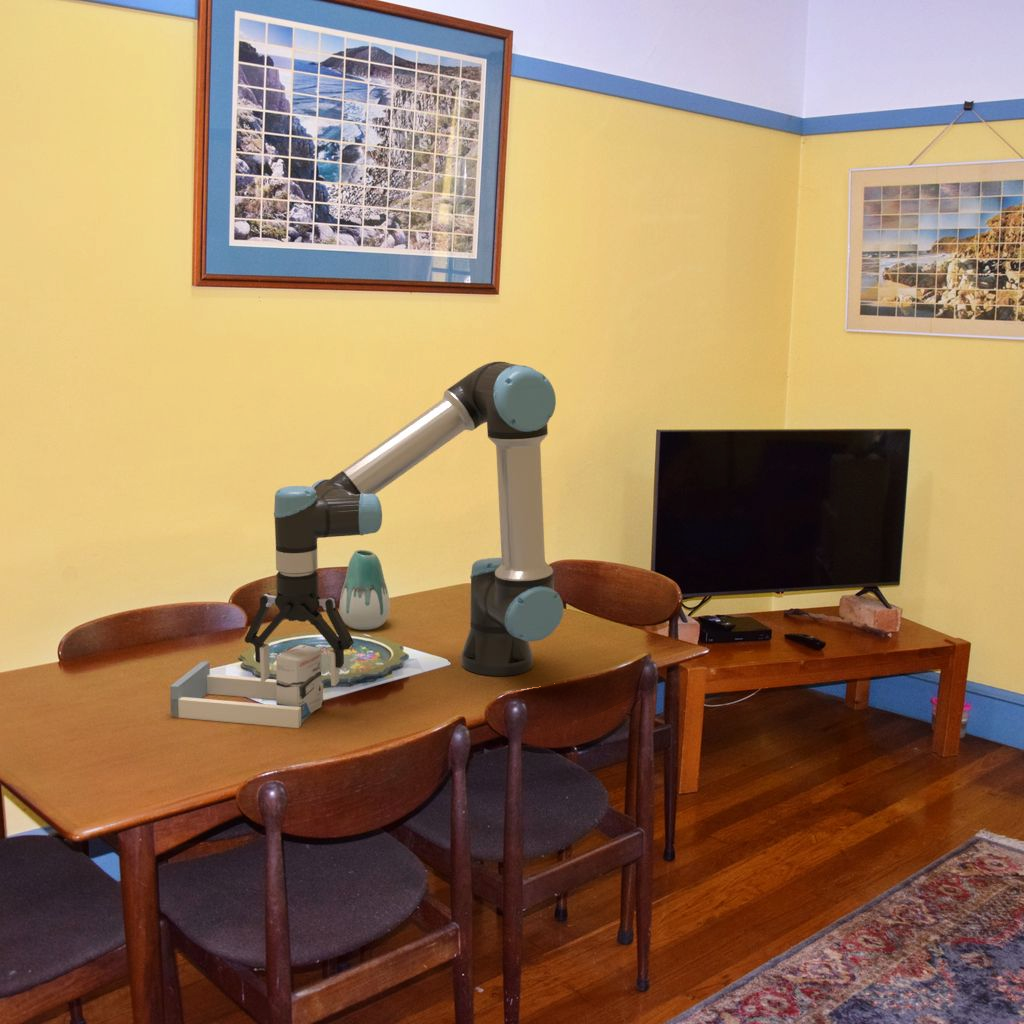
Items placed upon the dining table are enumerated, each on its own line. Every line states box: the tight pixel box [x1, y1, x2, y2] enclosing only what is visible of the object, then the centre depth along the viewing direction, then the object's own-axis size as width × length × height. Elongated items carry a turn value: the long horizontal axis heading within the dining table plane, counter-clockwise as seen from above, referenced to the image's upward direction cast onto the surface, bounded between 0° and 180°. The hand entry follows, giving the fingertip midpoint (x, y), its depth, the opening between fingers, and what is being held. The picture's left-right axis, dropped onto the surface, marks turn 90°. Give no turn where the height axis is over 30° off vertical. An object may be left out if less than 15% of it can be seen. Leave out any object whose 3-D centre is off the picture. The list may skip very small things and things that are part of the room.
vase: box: [338, 549, 391, 631], centre depth 279 cm, size 12×12×18 cm
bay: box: [169, 660, 324, 729], centre depth 227 cm, size 24×14×6 cm, turn 81°
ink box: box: [275, 644, 323, 718], centre depth 225 cm, size 8×5×12 cm, turn 156°
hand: (300, 681), depth 225 cm, fingers open, 13 cm apart
